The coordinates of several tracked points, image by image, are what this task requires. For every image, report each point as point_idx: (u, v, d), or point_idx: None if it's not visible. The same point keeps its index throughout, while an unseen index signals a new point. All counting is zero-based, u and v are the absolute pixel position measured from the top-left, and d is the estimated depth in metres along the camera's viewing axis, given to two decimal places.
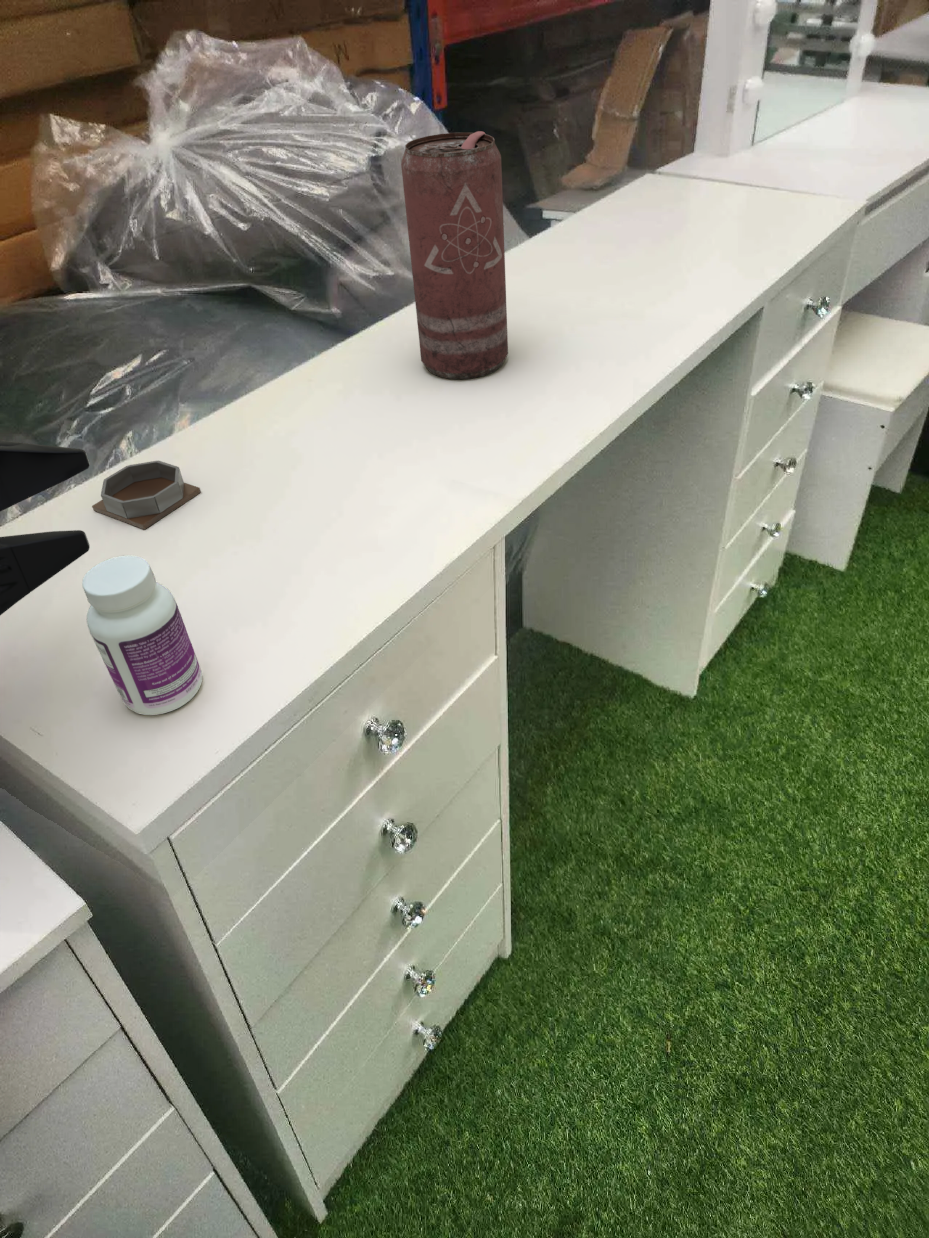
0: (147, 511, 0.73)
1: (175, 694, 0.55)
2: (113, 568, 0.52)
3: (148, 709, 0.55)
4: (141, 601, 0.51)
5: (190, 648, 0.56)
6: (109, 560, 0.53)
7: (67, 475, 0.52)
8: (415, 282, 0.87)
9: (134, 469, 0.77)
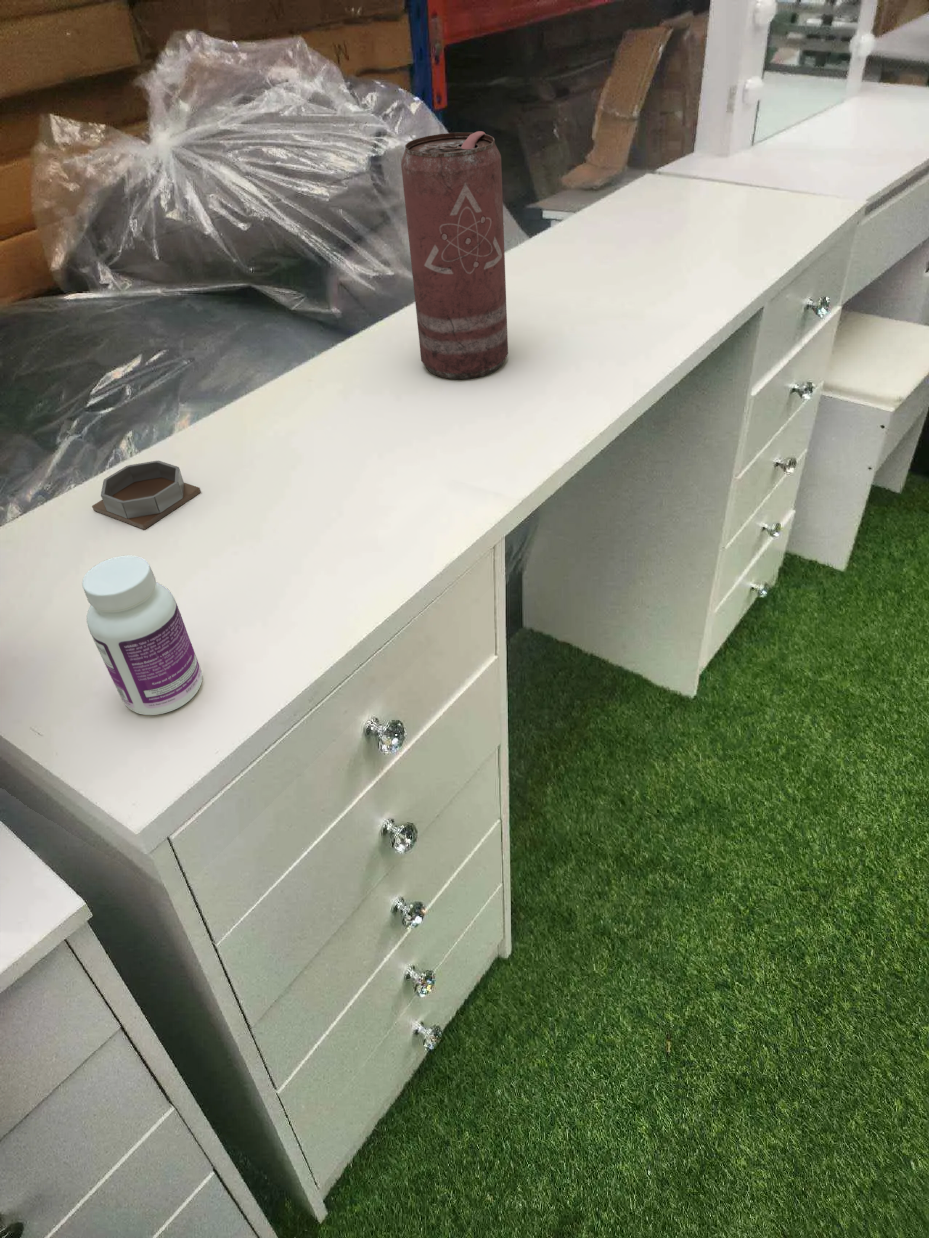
0: (147, 511, 0.73)
1: (175, 694, 0.55)
2: (113, 568, 0.52)
3: (148, 709, 0.55)
4: (141, 601, 0.51)
5: (190, 648, 0.56)
6: (109, 560, 0.53)
7: None
8: (415, 282, 0.87)
9: (134, 469, 0.77)
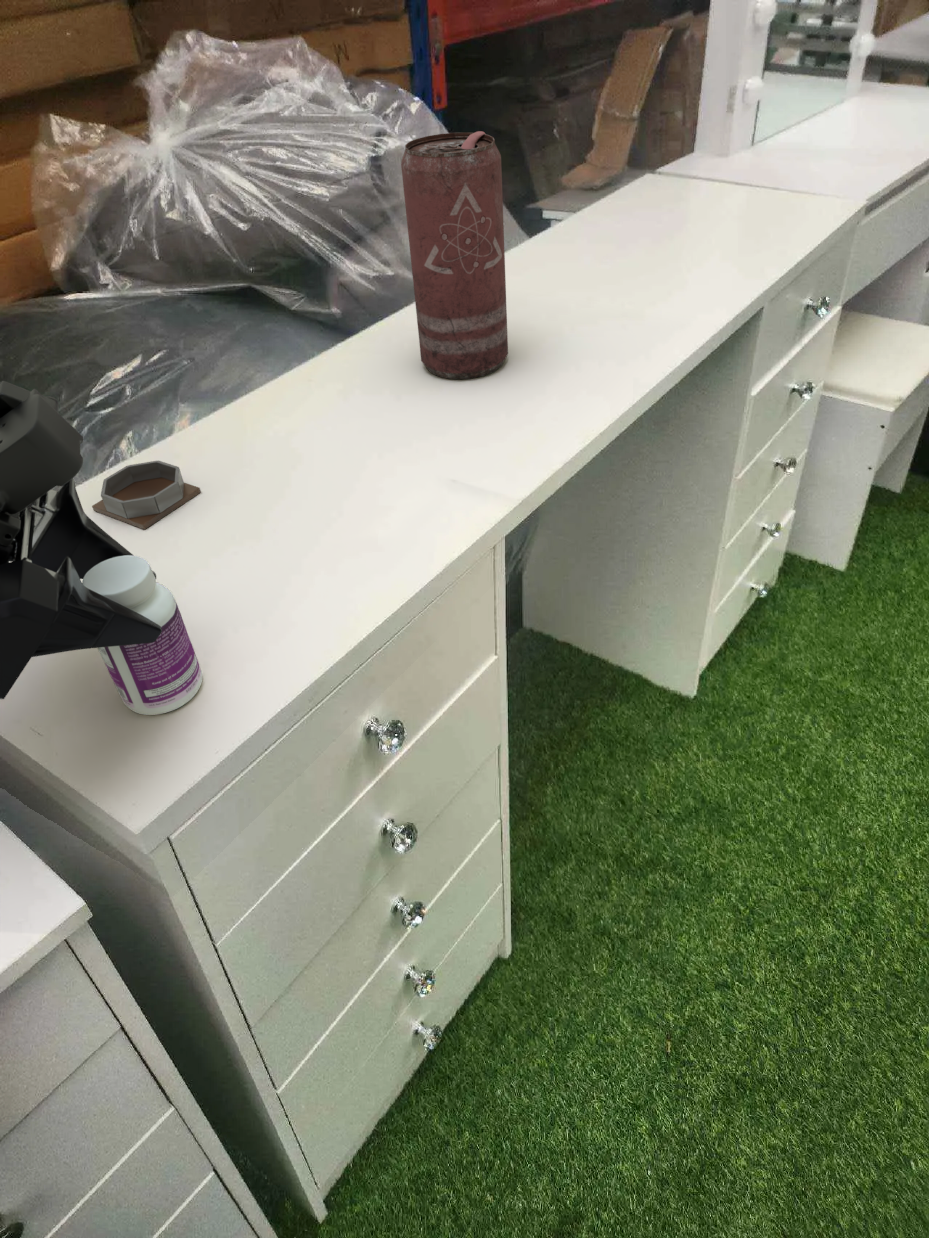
0: (147, 511, 0.73)
1: (175, 694, 0.55)
2: (113, 568, 0.52)
3: (148, 709, 0.55)
4: (141, 600, 0.51)
5: (190, 648, 0.56)
6: (109, 560, 0.53)
7: None
8: (415, 282, 0.87)
9: (134, 469, 0.77)
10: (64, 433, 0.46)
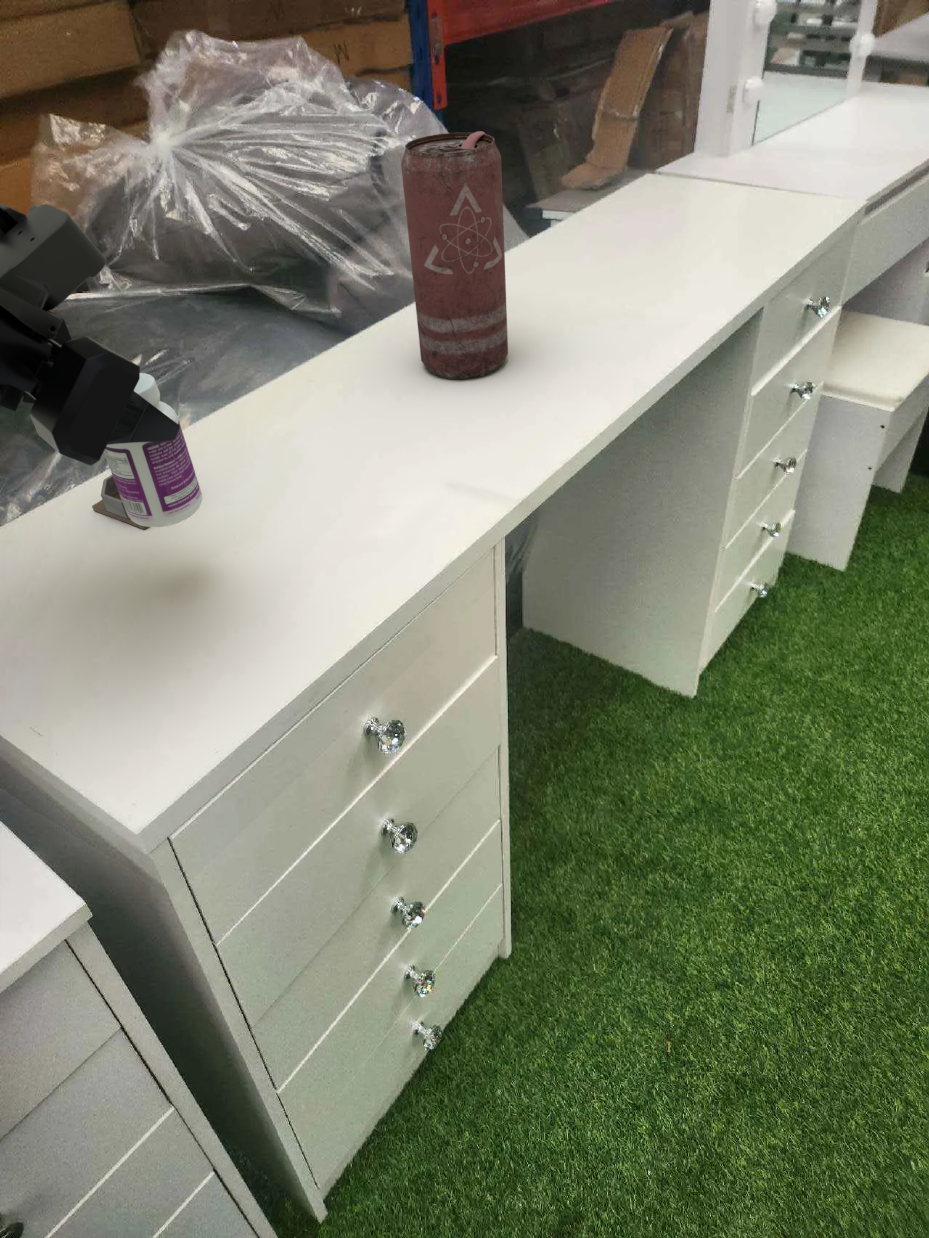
0: None
1: (189, 499, 0.61)
2: None
3: (167, 518, 0.60)
4: (155, 403, 0.57)
5: None
6: None
7: None
8: (415, 282, 0.87)
9: None
10: None
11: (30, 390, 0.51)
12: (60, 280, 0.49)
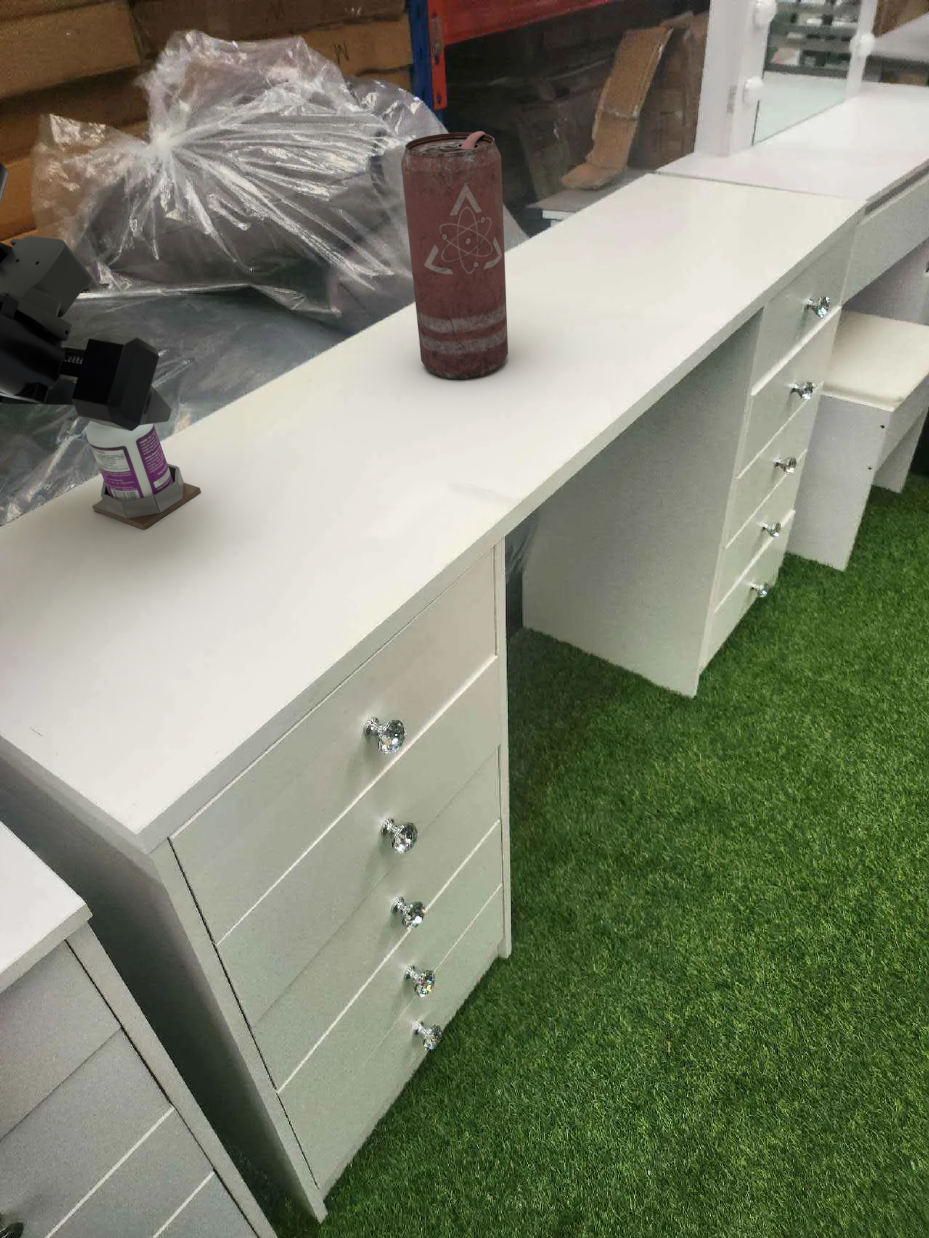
0: (147, 511, 0.73)
1: (169, 482, 0.75)
2: None
3: None
4: None
5: None
6: None
7: (72, 402, 0.72)
8: (415, 282, 0.87)
9: None
10: None
11: (53, 385, 0.62)
12: (65, 293, 0.61)
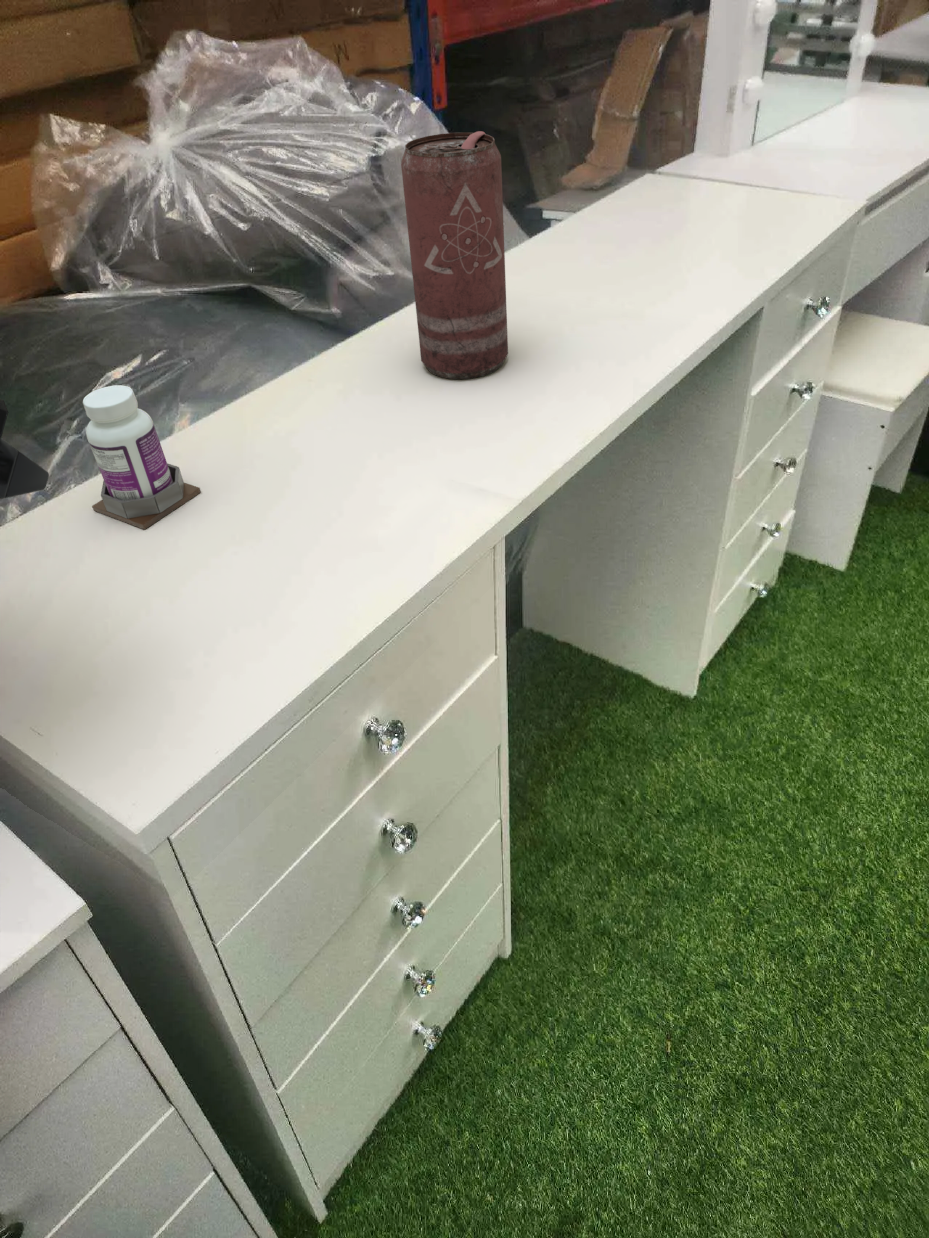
0: (147, 511, 0.73)
1: (169, 482, 0.75)
2: (100, 395, 0.70)
3: None
4: (136, 406, 0.71)
5: None
6: (89, 394, 0.70)
7: None
8: (415, 282, 0.87)
9: None
10: None
11: None
12: None
